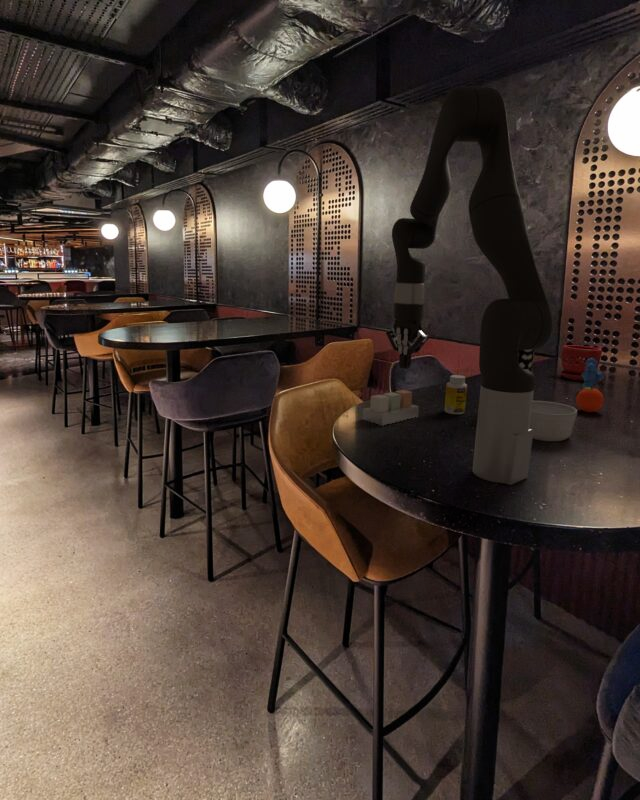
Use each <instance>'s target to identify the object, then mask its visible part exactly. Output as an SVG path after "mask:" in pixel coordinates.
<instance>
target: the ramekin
mask: <svg viewBox="0 0 640 800" xmlns="http://www.w3.org/2000/svg"><path fill="white" fill-rule="evenodd" d="M577 416H578V410H577V408H575V407H573V406H571V405H568V404H564V403H561V402H560V403H559V402H555V401H545V400H533V401H532V409H531V416H530V424H529V429H532V430H533V439H532V440H538V441H544V442H561V441H564V440H567V439H568V438H569V437H570V436H571V435H572V431H573V427H574V424H575V422H576V421H575V420H576V418H577Z"/></svg>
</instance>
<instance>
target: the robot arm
mask: <svg viewBox="0 0 640 800" xmlns="http://www.w3.org/2000/svg"><path fill="white" fill-rule="evenodd" d="M441 105H442V106H441V107H440V111H439V114H438V117H437V121H436V125H435V128H434V132H433V136H432V140H431V143H430V147H429V153H428V154H427V155H428V156H427V161H426V165H425V168H424V172H423V174H422V178H421V180H420V182H419V184H418V187H417V190H416V192H415V193H414V196H413V198H412V201H411V203H410V206H409V212H410V215H411V216H412V217H411V218H410V217H408V218H407V217H401V218H399V219H396V221H395V222H394V224H393V225H392V229H391V239H392V245H393V248H394V253H395V258H396V259H395V260H396V261H395V262H396V284H395V289H394V297H393V299H394V300H393V315H392V316H393V317H392V318H393V320H394V323H393V326H392V328H391V329H390V330H386V332H385V335H386V336H387V338H388V340H389V342H390V345H391V347H392V349H393V350H394V351H396V352H398V354H399V355H398V356H399V357H398V358H399V359H398V361H399V362H398V365H399V368H400V369H403V370H407V369H409V368H410V367H411V364H412V355H413V354H417V353H419V351H420V350H421V349H422V348H423V346H424V345H425V344H426V342H427V341H428V340H429V338H430V337H429V334H425V333H424V332H423V331H422V330H423V326H422V321H423V319H424V307H425V296H426V295H425V294H426V293H425V292H426V291H425V281H426V280H425V279H426V268H427V267H426V262H425V260H423V259H420V258H416V257H413V256H412V255H411V254H410V253H411V252H410V251H409V250H410V249H415V250H416V249H417V250H419V249H420V250H421V249H422V250H425V249H427V248H429V247H431V245H433V244H434V241H435V239H436V235H437V228H438V227H437V226H438V222H439V217H440V214H441V213H442V210H443V208H444V206H445V204H446V202H447V201H448V198H449V195H450V193H451V188H452V178H451V173H450V172H451V171H450V166H449V154H450V151H451V150H452V148H453V146H454V145H455V143H456V142H460V143H461V142H463V143H464V142H465V143H467V142H468V143H469V142H470V143H477V144H478V146H479V149H480V152H481V157H482V158H481V160H482V167H481V170H480V173H479V175H478V178H477V179H476V183H475V184H474V187H473V189H472V191H471V194H470V197H469V200H468V215H469V220H470V225H471V229H472V233H473V234H472V235H473V237H474V241H475V243H476V245H477V246H478V248H479V250H480V251H481V252H482V254H483V255H484V257H485V258H486V259H487V260H488V262H489V263H490V264H491V266H492V267H493V268H494V269H495V271H496V272H497V273H498V274H499V277H500V278H501V279H502V282H503V284H504V286H505V289H506V293H507V298H499V299H498V298H497V299H495V300H493V301H491V302H490V303H489V304H488V305H487V306H486V308H485V310H484V312H483V314H482V318H481V324H480V334H479V356H478V357H479V358H478V367H479V373H480V376H481V378H480V379H481V382H480V392H479V400H478V411H477V419H476V431H475V438H474V439H475V442H474V450H473V451H474V453H473V461H472V473H473V474H474V475H475V476H476V477H478V478H479V479H482V480H485V481H488V482H492V483H497V484H498V483H499V484H506V485H509V486H513V485H515V484H516V483H519V482H520V481H523V480H525V479H527V478H528V476H529V469H530V461H531V455H532V454H531V452H532V446H533V440H534V439H533V430H532V429H529V424H530V416H531V409H532V401H534V392H535V386H536V384H535V383H536V376H535V374H534V373H533V371H532V372H530V371H527V370H525V369H522V368H521V367H520V366H519V364H518V350H532V349H535V350H538V349H540V348H543V347H544V346H545V345H546V344H547V343H548V342H549V340H550V338H551V335H552V331H553V315H552V311H551V308H550V304H549V301H548V298H547V295H546V293H545V289H544V287H543V283H542V281H541V278H540V274H539V272H538V269H537V266H536V265H537V264H536V261H535V257H534V253H533V248H532V246H531V241H530V237H529V234H528V229H527V222H526V218H525V217H526V216H525V213H524V208H523V204H522V203H523V202H522V198H521V195H520V191H519V187H518V184H517V178H516V174H515V168H514V163H513V158H512V157H513V156H512V151H511V143H510V142H511V141H510V135H509V134H510V131H509V123H508V122H509V120H508V114H507V108H506V107H507V106H506V103H505V100H504V97H503V95H502V93H501V91H500V90H498V89H497V88H494V87H490V86H489V87H488V86H473V85H472V86H471V85H459V86H455V87H453V88H452V89H450V90H449V92H448V93H447V94H446V95H445V98H444V100H443V102H442V104H441Z"/></svg>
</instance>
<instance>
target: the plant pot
mask: <svg viewBox="0 0 640 800" xmlns="http://www.w3.org/2000/svg"><path fill="white" fill-rule="evenodd" d="M602 352H603V349H602V348H600V347H594V346H586V345H585V346H584V345H575V344H574V345H571V344H569V345H563V346H562V350H561V358H560V360H561V367H562V370H561V371H560V374H561V376H562V377H564V378H566V379H570V380H572V381H574V380H575V381H584V379H583V377H582V375H581V374H582V373H584V372H585V369H586V368H585V366H587V365H586V361H587V360H588V359H590V358H594V359H595V360H596V362H597V365H596V369H597V370H598V366H599V364H600V361H601V357H602ZM583 360H584V361H583Z"/></svg>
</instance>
